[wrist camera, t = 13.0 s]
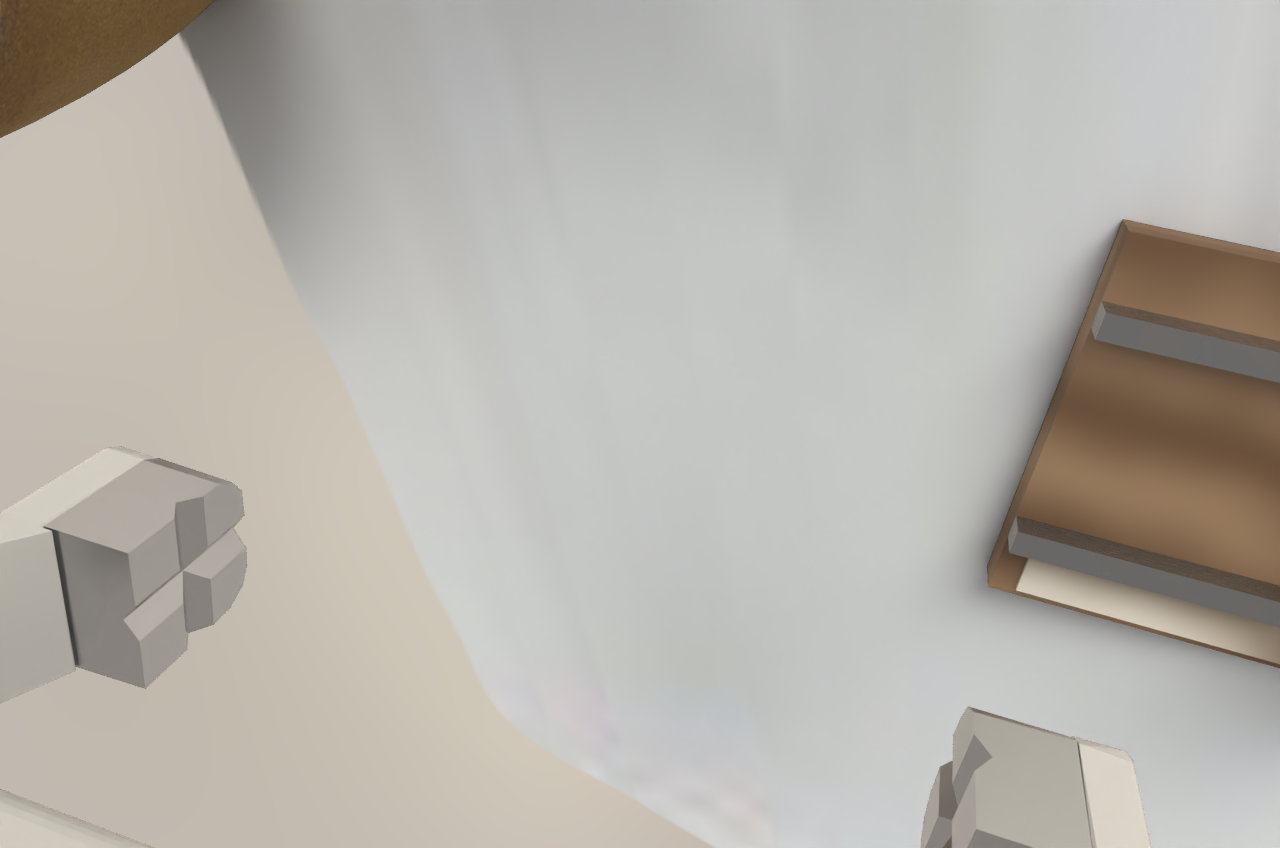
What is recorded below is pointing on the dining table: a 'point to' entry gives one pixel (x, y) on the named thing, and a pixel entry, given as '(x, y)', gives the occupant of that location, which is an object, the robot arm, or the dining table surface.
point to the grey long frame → (1139, 564)
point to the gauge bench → (1162, 445)
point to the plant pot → (76, 48)
